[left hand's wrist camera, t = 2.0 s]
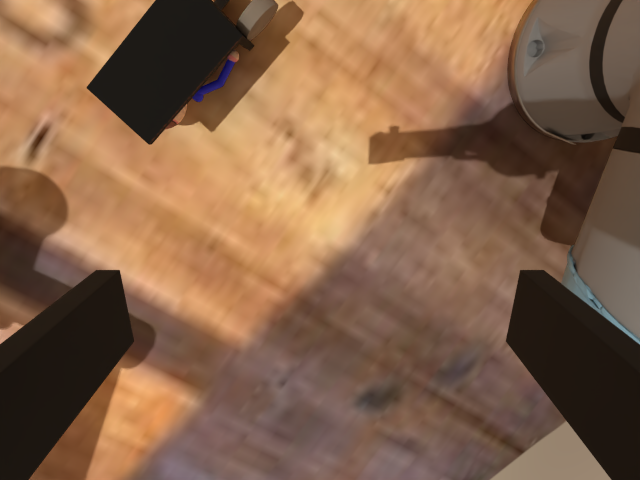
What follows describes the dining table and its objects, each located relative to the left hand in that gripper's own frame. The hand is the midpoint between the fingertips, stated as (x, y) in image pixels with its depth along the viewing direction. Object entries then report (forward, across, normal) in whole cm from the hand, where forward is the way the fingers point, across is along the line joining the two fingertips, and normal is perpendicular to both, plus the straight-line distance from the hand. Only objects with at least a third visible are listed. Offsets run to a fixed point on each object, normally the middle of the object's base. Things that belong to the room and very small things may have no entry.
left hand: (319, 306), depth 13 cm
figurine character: (+27, -11, +10) cm, 31 cm away
